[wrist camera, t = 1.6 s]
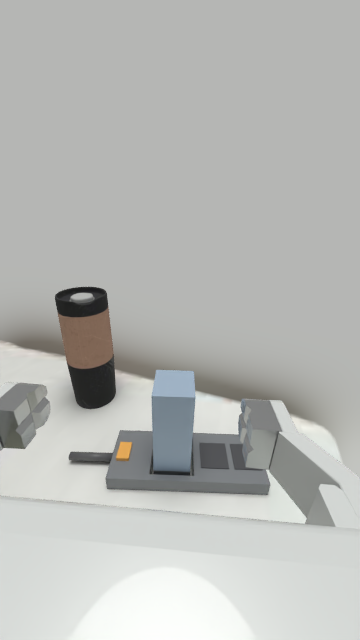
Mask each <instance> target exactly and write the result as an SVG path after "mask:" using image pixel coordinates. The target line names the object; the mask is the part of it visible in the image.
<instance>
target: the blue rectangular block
mask: <svg viewBox="0 0 360 640" xmlns="http://www.w3.org/2000/svg"><path fill="white" fill-rule="evenodd" d="M194 409H195V384H194V371H174V370H156V375H155V381H154V386H153V392H152V427H153V466H154V474H158V475H185V476H190V466H191V452H192V438H193V423H194Z"/></svg>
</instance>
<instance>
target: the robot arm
mask: <svg viewBox="0 0 360 640" xmlns="http://www.w3.org/2000/svg"><path fill="white" fill-rule="evenodd" d="M46 395H47V389H46V386H44V385H38V384H27V383H14V382H7V383H4V384H3V385H2V386H0V451H1V450H2V449H3V448H18V449H25V448H26V447H27V445H28V444H29V443H30V442H31V440H32V439H33V438H34V436H35V435H36V429H38V428H39V427H41V426H43V425H44V423H45V422H46V421H47V419H48V416H49V414H50V402H49V401H48V400H47V399H46V398H45V396H46ZM241 410H242V414H241V415H239V422H238V430H239V438H240V441H241V442H242V443H243V449H242V453H243V457H244V462H245V467H249V468H258V469H266V470H269V471H270V473H271V474H272V475H273V476H274V478H275V479H276V480H277V481H278V483H279V484H280V485H281V486H282V488H283V489H284V490H285V491H286V493H287V494H288V495H289V496H290V498H291V499H292V500H293V501H294V503H295V504H296V505H297V506H298V508H299V509H300V510H301V511H302V513H303V514H304V515H305V516H306V518H307V520H306V522H305V524H300V523H289V522H279V521H268V520H257V519H246V518H236V517H225V516H214V515H204V514H193V513H182V512H171V511H161V510H150V509H139V508H128V507H117V506H107V505H96V504H85V503H74V502H63V501H53V500H42V499H32V498H21V497H10V496H0V640H360V477H358V476H357V475H356V474H355V473H353V472H352V471H351V470H349V469H348V468H347V467H345V466H344V465H343V464H342V463H340V462H339V461H338V460H336V459H335V458H334V457H333V456H331V455H330V454H329V453H327V452H326V451H325V450H323V449H322V448H321V447H320V446H318V445H317V444H316V443H314V442H313V441H312V440H310V439H309V438H308V437H307V436H305V435H304V434H302V433H298V431H297V429H296V427H295V425H294V423H293V421H292V419H291V417H290V415H289V413H288V411H287V409H286V407H285V405H284V403H283V402H282V401H278V400H255V399H242V402H241Z"/></svg>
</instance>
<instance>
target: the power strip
mask: <svg viewBox="0 0 360 640" xmlns="http://www.w3.org/2000/svg"><path fill="white" fill-rule="evenodd" d="M242 449H243V443H242V442H241V441H240V438H239V435H234V434H207V433H193V438H192V458H193V476H185V475H158V474H151V469H152V461H153V432H151V431H124V430H120V432H119V435H118V439H117V442H116V445H115V449H114V452H113V453H94V452H70V455H69V460H81V461H108V462H110V465H109V469H108V472H107V475H106V484H107V489H132V490H158V491H185V492H211V493H238V494H264V495H267V494H268V491H269V488H270V482H269V479H268V475H267V472H266V469H258V468H249V467H245V462H244V457H243V453H242Z"/></svg>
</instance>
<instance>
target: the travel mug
mask: <svg viewBox="0 0 360 640" xmlns="http://www.w3.org/2000/svg"><path fill="white" fill-rule="evenodd" d="M55 300H56V306H57V310H58V317H59V322H60V327H61V333H62V338H63V344H64V349H65V355H66V360H67V364H68V369H69V373H70V377H71V381H72V385H73V389H74V394H75V397H76V401H77V403H78V404H79V405H80V406H81V407H84V408H89V409H93V408H99V407H102V406H104V405H106V404H108V403H109V402H110V401H111V400H112V399H113V398H114V396H115V393H116V386H115V370H114V354H113V345H112V336H111V327H110V318H109V309H108V300H107V293H106V291H105V290H104V289H101V288H96V287H78V288H71V289H67V290H63V291H60V292H59V293H57V294H56V295H55Z"/></svg>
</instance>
